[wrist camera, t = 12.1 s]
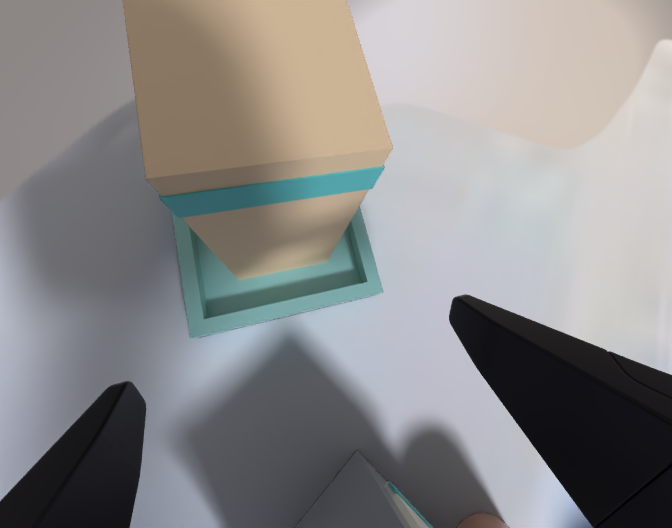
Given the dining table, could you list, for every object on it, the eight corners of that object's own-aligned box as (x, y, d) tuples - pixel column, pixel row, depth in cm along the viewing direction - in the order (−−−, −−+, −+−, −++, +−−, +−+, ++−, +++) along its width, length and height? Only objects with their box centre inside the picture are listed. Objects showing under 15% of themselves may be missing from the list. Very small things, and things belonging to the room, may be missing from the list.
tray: (374, 295, 19) (383, 291, 18) (199, 337, 17) (190, 338, 15) (335, 149, 21) (339, 133, 20) (173, 169, 19) (162, 152, 17)
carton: (327, 262, 19) (395, 149, 7) (237, 281, 17) (143, 181, 6) (308, 184, 20) (340, -27, 8) (222, 196, 18) (116, -30, 7)
